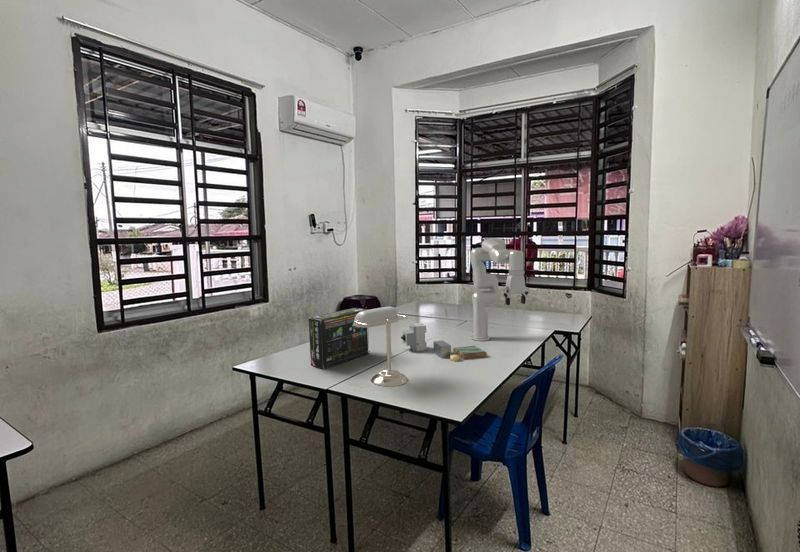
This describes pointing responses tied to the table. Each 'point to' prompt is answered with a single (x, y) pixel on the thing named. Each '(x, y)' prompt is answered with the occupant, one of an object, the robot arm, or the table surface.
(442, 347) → the block
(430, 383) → the table surface
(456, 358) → the cream dome
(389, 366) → the lamp
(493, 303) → the robot arm
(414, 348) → the circuit breaker
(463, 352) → the green board with frame
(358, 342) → the router box
